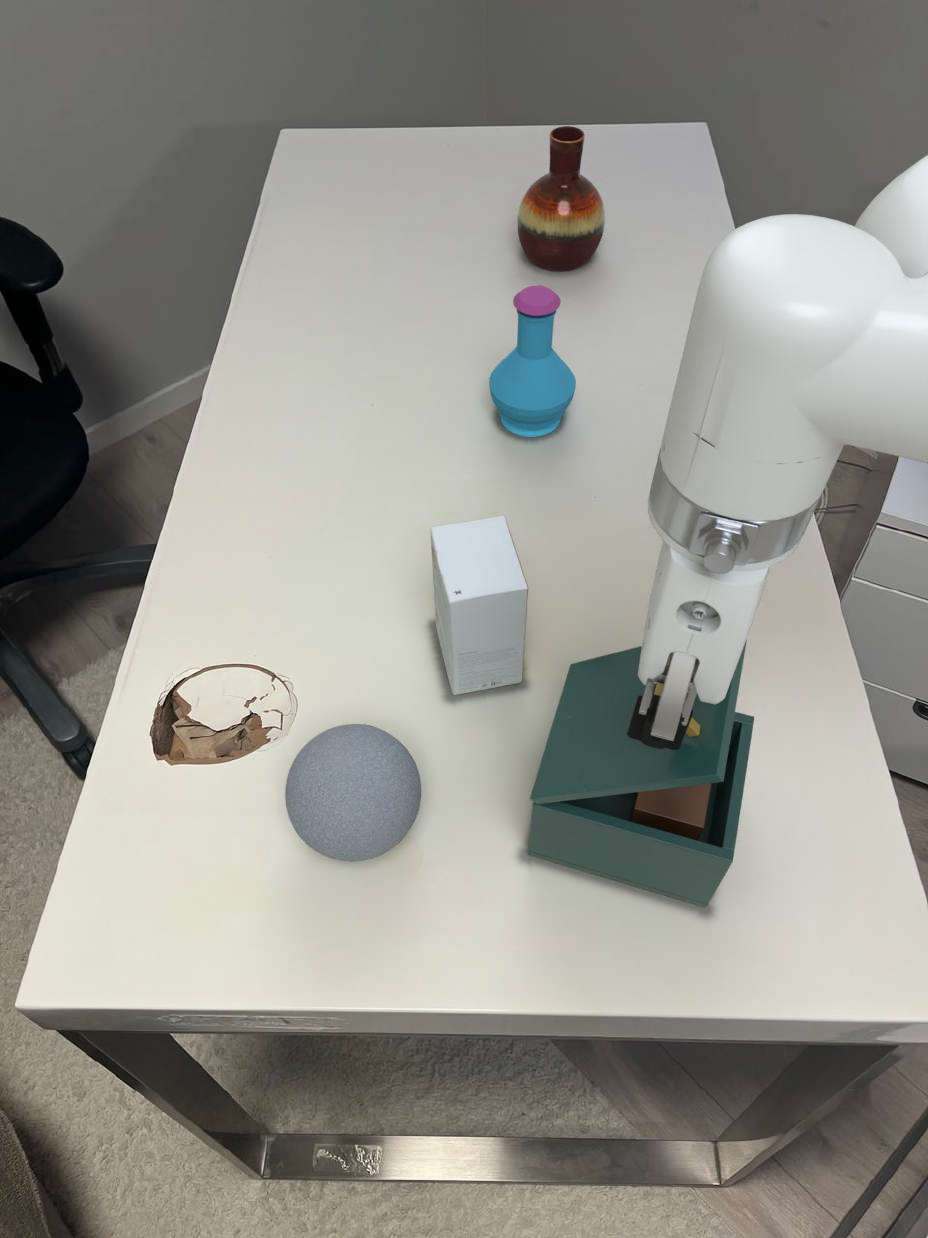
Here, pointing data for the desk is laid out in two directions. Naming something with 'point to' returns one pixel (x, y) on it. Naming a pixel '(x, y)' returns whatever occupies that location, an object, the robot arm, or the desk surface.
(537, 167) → the desk surface
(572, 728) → the lid
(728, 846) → the green hollow open box
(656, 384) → the desk surface
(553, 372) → the perfume bottle
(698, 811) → the block
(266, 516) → the desk surface
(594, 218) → the vase
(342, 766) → the decorative stone
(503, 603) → the small box
